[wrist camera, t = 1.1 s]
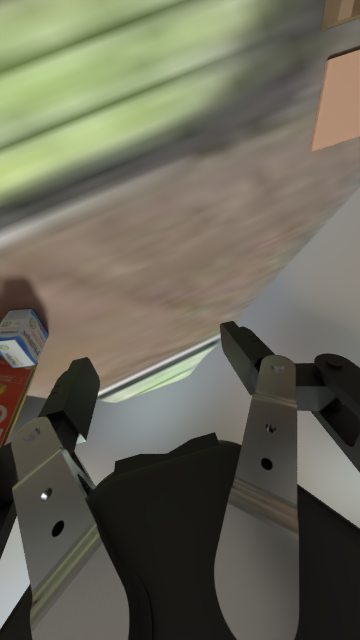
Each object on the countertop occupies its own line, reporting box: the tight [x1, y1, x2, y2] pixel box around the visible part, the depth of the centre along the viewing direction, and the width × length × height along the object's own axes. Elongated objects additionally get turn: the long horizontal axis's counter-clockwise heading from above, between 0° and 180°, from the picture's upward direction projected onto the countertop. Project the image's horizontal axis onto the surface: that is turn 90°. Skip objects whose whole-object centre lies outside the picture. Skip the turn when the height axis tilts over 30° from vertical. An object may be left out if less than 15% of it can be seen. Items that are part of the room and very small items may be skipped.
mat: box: [310, 50, 360, 152], centre depth 28 cm, size 9×12×1 cm
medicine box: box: [0, 309, 48, 368], centre depth 38 cm, size 8×4×9 cm, turn 178°
